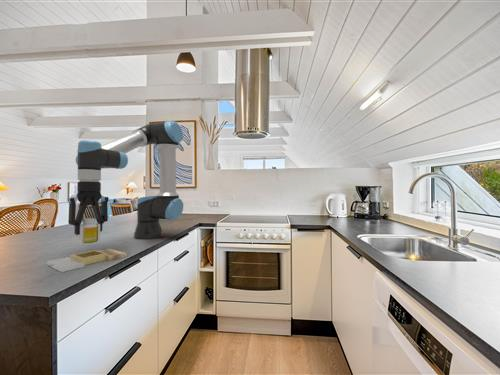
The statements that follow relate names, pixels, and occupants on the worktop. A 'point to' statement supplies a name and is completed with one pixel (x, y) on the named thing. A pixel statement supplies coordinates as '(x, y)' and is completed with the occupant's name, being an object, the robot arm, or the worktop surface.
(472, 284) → the worktop surface
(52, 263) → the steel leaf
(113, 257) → the beige flat slab
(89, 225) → the supplement bottle
